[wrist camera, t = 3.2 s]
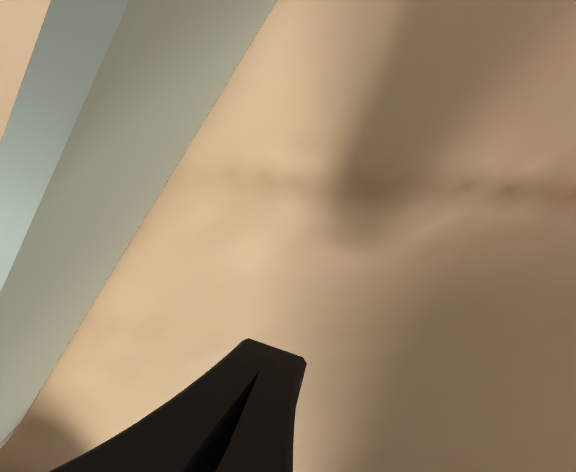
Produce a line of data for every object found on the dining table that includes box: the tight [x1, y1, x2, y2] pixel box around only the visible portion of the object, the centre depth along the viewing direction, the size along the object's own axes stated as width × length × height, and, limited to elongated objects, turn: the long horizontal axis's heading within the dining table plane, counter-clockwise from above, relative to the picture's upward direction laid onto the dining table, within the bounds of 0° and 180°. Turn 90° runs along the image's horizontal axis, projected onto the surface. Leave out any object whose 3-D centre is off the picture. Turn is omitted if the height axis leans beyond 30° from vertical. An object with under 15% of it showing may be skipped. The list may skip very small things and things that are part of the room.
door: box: [0, 0, 277, 448], centre depth 13 cm, size 19×1×5 cm, turn 145°
